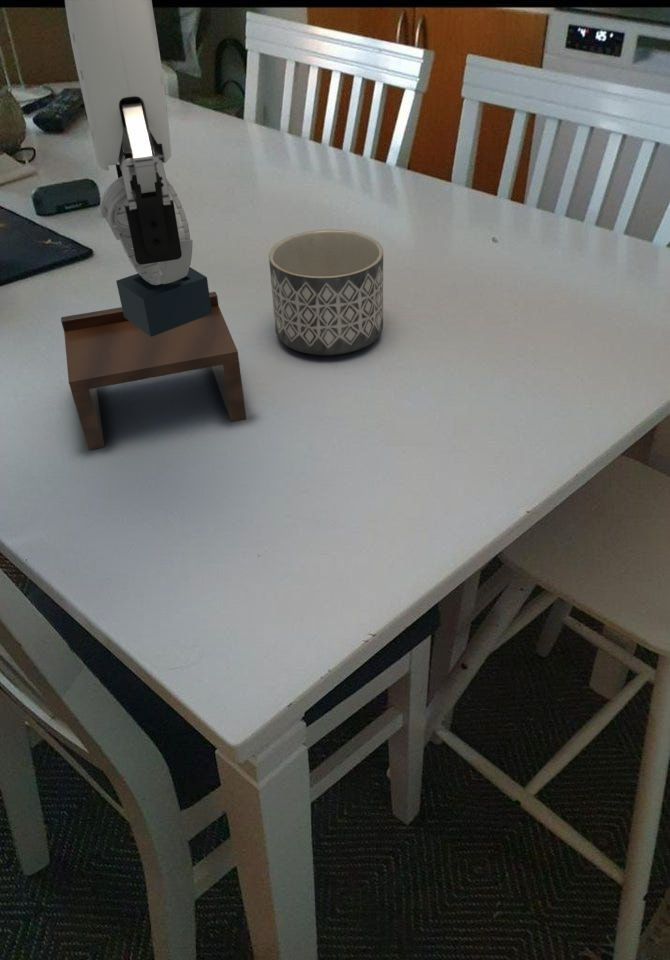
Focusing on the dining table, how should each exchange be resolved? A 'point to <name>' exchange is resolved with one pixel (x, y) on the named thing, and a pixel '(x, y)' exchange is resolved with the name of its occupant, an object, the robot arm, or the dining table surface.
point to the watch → (156, 272)
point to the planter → (327, 291)
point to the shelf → (145, 359)
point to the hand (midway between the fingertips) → (152, 235)
